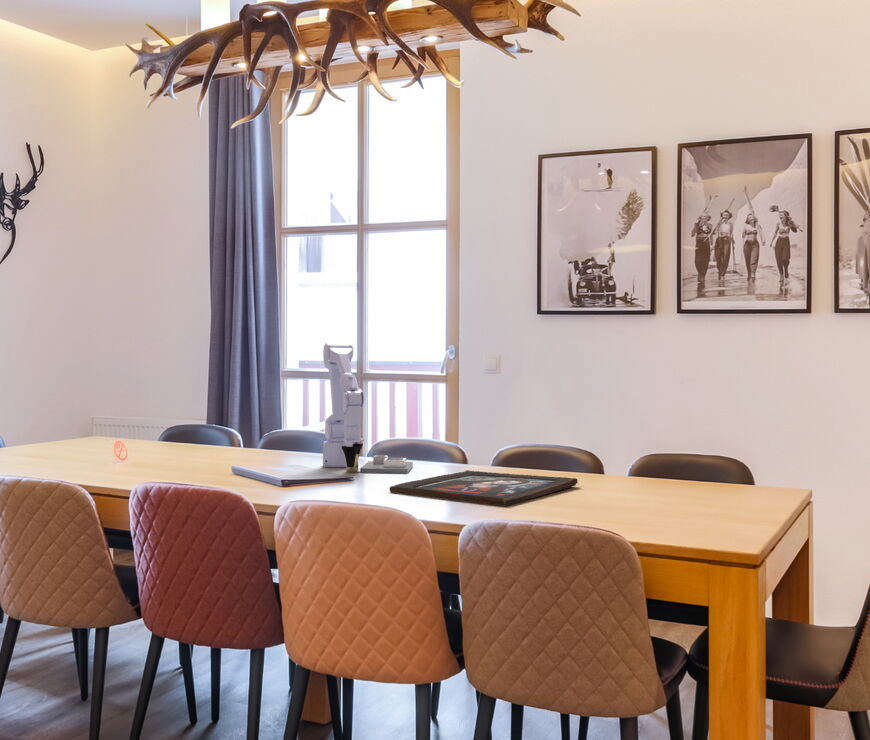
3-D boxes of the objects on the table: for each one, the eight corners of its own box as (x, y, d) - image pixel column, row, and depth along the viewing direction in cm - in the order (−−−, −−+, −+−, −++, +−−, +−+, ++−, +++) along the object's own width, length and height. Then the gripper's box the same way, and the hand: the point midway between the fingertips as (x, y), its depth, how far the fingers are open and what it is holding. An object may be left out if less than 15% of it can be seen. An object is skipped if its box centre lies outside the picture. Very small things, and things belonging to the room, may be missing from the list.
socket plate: (360, 472, 293) (360, 460, 293) (368, 465, 313) (368, 454, 313) (407, 473, 292) (407, 461, 292) (412, 466, 312) (412, 454, 312)
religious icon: (580, 486, 266) (580, 476, 266) (508, 509, 229) (508, 497, 229) (469, 477, 289) (469, 467, 289) (386, 496, 252) (386, 485, 252)
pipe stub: (345, 472, 294) (345, 454, 294) (347, 471, 298) (347, 453, 298) (357, 472, 294) (357, 455, 293) (359, 471, 298) (359, 453, 297)
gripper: (361, 427, 288) (360, 468, 288) (367, 424, 302) (367, 463, 303) (340, 427, 288) (339, 468, 289) (347, 424, 303) (347, 463, 303)
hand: (352, 465), depth 296 cm, fingers open, 7 cm apart
